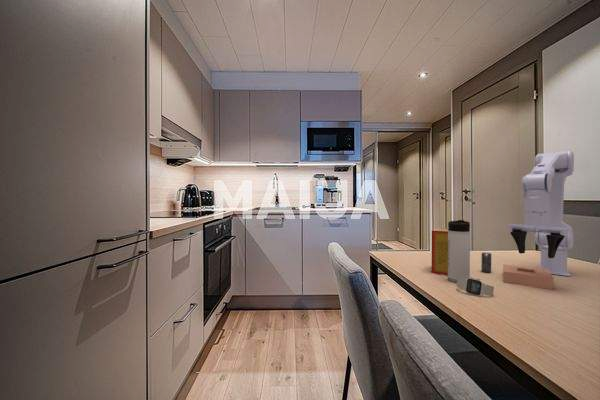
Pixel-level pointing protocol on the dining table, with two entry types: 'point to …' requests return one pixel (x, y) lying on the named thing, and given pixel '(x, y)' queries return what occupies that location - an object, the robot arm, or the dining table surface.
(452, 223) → the travel mug
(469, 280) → the wristwatch
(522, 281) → the socket block
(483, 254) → the peg
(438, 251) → the baking soda box
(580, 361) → the dining table surface
